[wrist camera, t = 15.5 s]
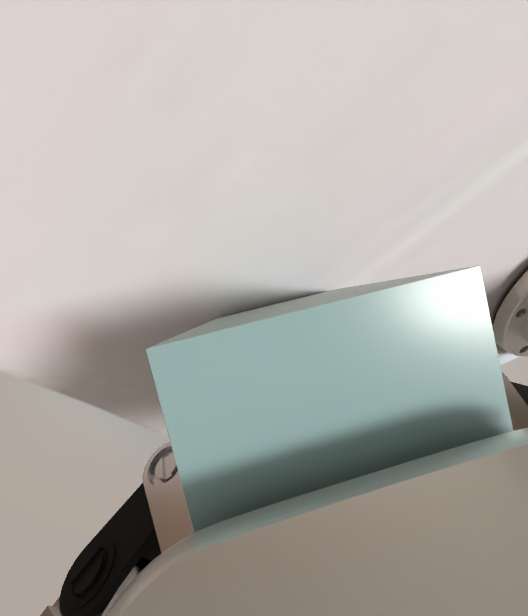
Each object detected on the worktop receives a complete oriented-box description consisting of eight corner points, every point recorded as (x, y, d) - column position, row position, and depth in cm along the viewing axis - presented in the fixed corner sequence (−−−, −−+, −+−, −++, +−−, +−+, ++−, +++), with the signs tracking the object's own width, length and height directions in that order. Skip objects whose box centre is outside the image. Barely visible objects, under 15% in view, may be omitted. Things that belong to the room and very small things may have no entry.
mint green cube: (329, 290, 13) (479, 265, 5) (355, 400, 14) (541, 572, 5) (216, 318, 13) (145, 348, 4) (244, 432, 13) (235, 684, 4)
